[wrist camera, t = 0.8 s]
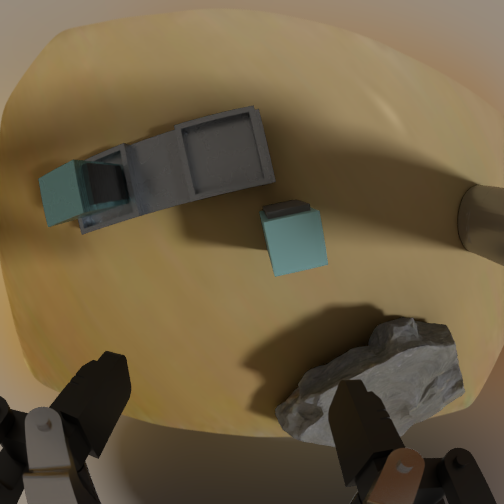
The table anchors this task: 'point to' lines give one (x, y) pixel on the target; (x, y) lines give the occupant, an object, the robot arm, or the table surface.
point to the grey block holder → (160, 171)
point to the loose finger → (293, 236)
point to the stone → (381, 379)
